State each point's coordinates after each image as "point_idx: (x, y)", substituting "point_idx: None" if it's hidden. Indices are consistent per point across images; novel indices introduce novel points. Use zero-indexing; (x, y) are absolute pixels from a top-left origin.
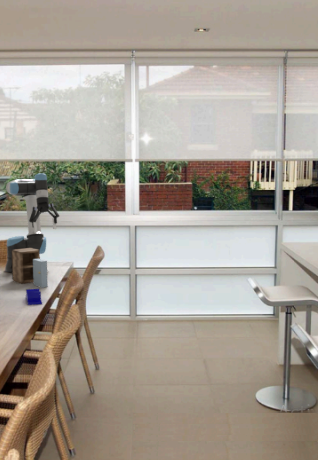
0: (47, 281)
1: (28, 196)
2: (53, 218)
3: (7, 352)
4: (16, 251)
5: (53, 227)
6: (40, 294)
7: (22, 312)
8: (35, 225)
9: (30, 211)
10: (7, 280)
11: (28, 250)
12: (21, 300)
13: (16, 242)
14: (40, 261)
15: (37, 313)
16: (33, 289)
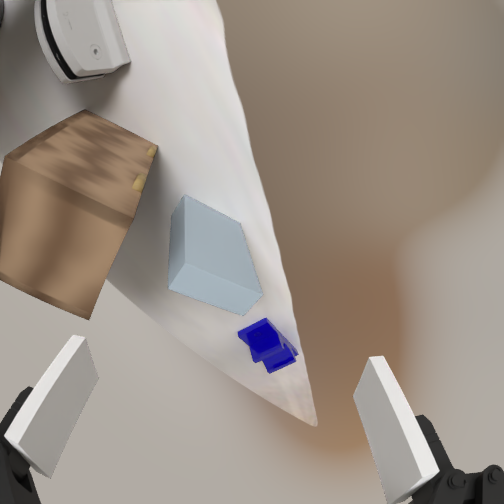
0: (243, 234)
1: None
2: (404, 497)
3: (313, 424)
4: (43, 299)
5: (361, 405)
6: (294, 356)
7: (281, 383)
8: (55, 430)
9: None
10: None
11: (79, 262)
12: (241, 349)
13: None
14: (239, 314)
15: (306, 377)
16: (270, 355)
